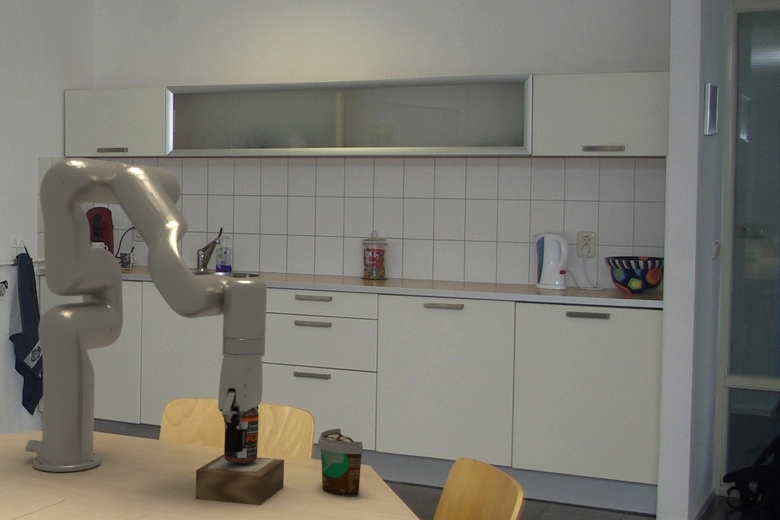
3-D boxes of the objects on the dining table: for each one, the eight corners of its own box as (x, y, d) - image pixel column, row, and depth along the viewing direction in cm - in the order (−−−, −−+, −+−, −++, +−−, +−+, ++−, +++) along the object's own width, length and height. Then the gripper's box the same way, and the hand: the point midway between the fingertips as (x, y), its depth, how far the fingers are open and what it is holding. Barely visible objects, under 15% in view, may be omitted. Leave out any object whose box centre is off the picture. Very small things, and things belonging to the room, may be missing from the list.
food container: (307, 482, 176) (308, 429, 176) (337, 479, 178) (339, 427, 178) (329, 500, 165) (330, 444, 164) (361, 497, 167) (363, 442, 167)
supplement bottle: (250, 465, 165) (252, 401, 164) (218, 462, 166) (220, 399, 165) (262, 457, 170) (263, 395, 170) (231, 454, 172) (232, 393, 171)
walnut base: (195, 498, 164) (196, 468, 163) (222, 480, 175) (223, 453, 175) (260, 504, 161) (261, 474, 161) (283, 486, 173) (284, 458, 173)
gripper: (242, 340, 177) (239, 435, 177) (204, 351, 160) (201, 456, 160) (279, 342, 175) (276, 438, 176) (245, 354, 158) (242, 460, 159)
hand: (240, 446), depth 168 cm, fingers closed on supplement bottle, 5 cm apart
